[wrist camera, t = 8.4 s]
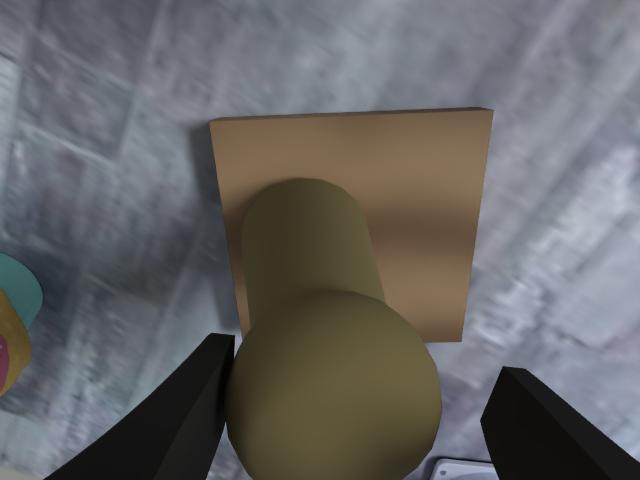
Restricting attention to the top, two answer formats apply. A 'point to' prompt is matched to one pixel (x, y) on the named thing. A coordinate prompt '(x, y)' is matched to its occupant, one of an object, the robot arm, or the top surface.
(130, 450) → the robot arm
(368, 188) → the walnut board
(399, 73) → the top surface
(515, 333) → the top surface
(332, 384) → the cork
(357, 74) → the top surface
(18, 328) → the cupcake
